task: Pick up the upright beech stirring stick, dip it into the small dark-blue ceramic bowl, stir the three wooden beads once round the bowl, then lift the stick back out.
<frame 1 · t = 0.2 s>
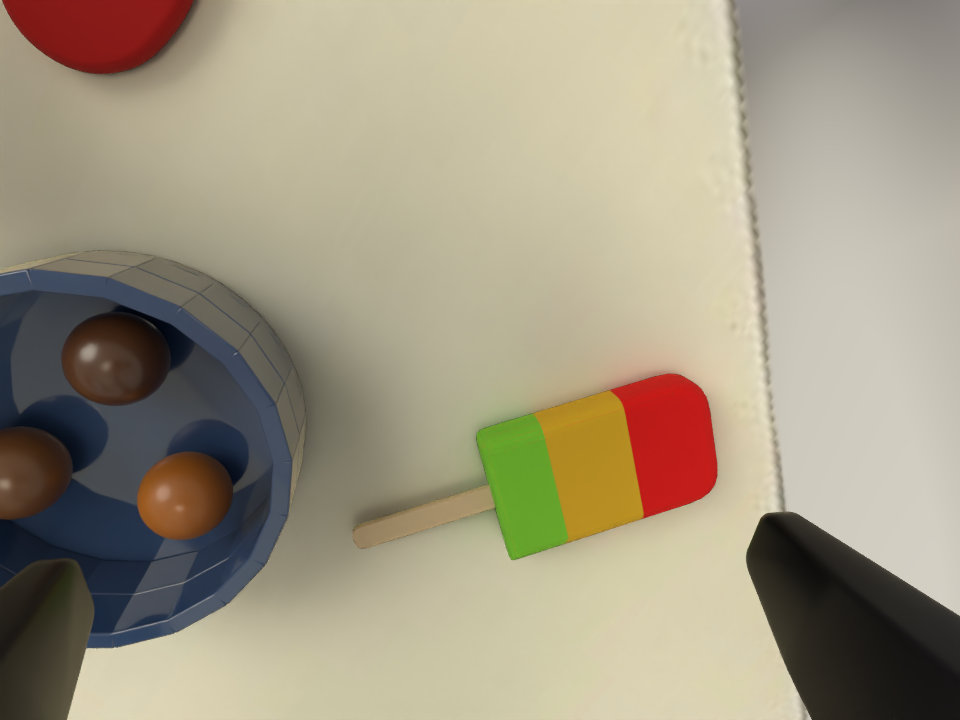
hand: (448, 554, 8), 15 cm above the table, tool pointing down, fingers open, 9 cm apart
bead c: (186, 495, 21), point 2 cm above the table, touching bowl
bowl: (132, 419, 22), on the table
popsicle: (527, 470, 26), on the table
bead a: (118, 358, 19), point 2 cm above the table, touching bowl
bead b: (17, 472, 20), point 2 cm above the table, touching bowl
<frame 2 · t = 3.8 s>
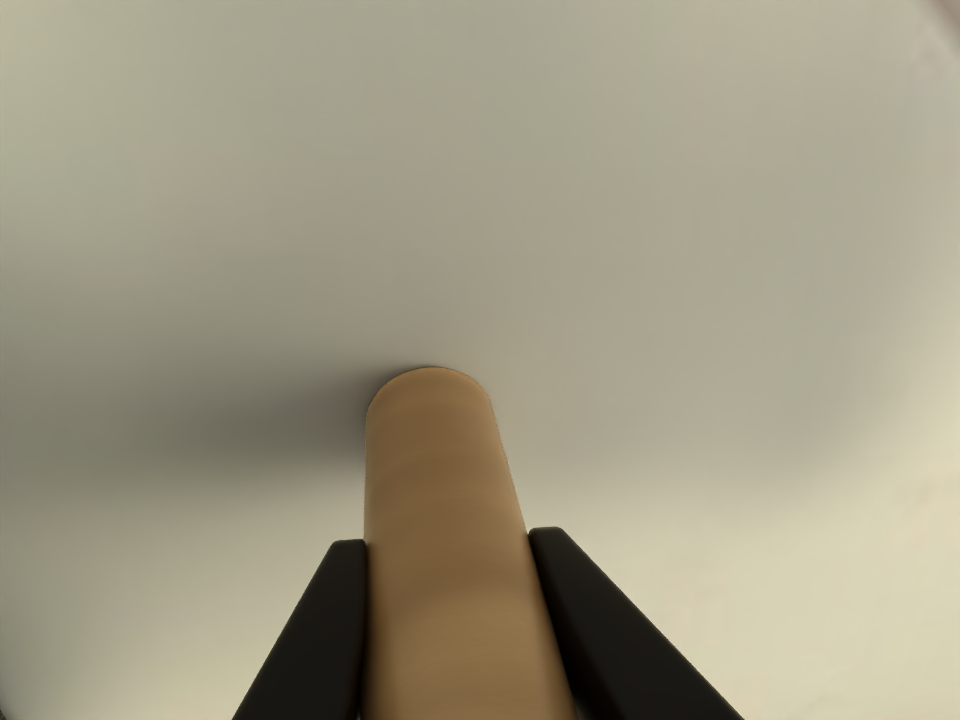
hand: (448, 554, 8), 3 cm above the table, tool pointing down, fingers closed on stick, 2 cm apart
stick: (430, 418, 11), on the table, touching gripper
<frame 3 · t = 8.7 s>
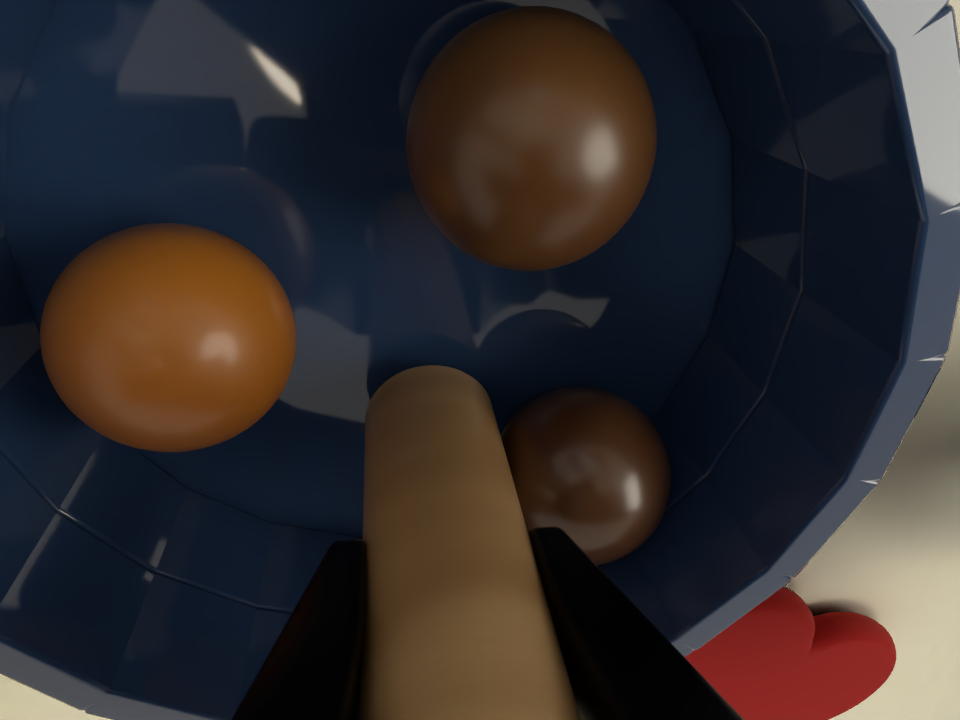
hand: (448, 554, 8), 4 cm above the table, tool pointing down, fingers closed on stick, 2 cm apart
bead c: (178, 338, 8), point 2 cm above the table, touching bowl
bowl: (401, 275, 10), on the table
bead a: (579, 473, 10), point 2 cm above the table, tilted 53°, touching bowl, stick
bead b: (529, 147, 7), point 2 cm above the table, touching bowl
stick: (429, 417, 11), point 1 cm above the table, touching bead a, gripper
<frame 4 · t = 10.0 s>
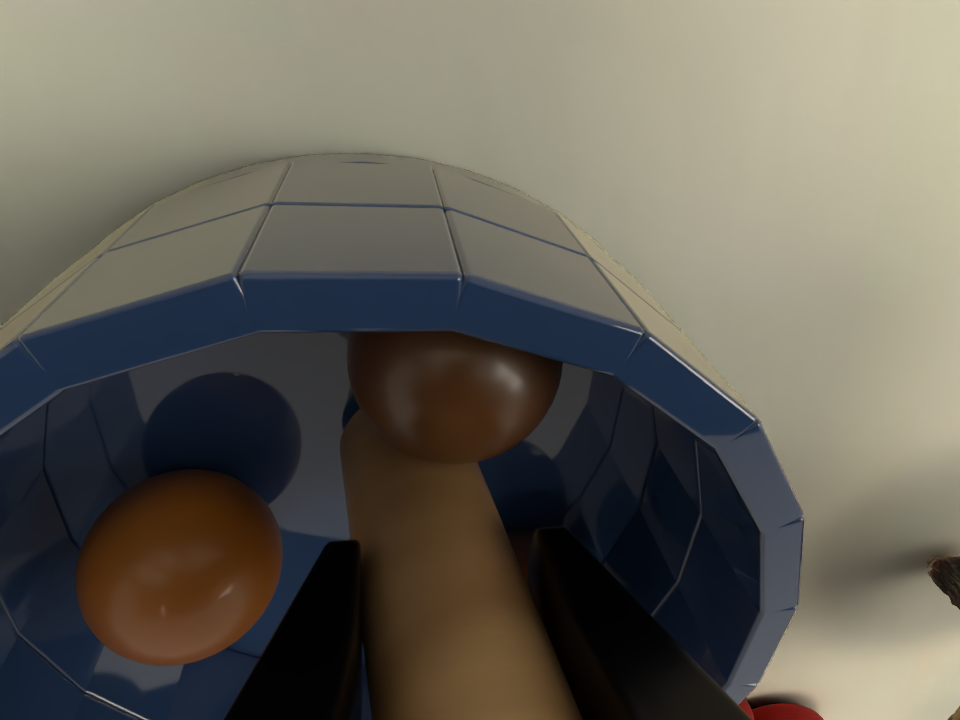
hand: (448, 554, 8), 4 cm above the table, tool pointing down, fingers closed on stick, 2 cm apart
bead c: (185, 562, 10), point 2 cm above the table, touching bowl
bowl: (374, 468, 12), on the table
bead a: (528, 609, 12), point 2 cm above the table, tilted 32°, touching bowl
bead b: (455, 356, 9), point 2 cm above the table, tilted 43°, touching bowl, stick
stick: (402, 440, 11), point 1 cm above the table, tilted 7°, touching bead b, gripper
acorn: (936, 551, 17), on the table
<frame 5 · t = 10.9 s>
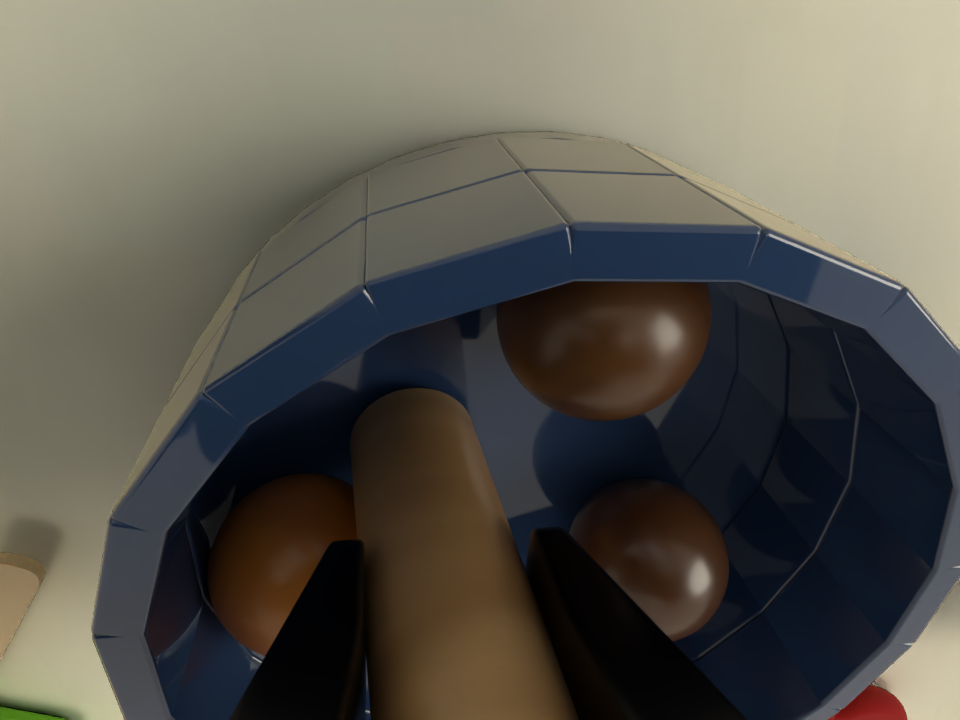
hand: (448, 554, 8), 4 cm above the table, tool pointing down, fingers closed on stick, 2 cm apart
bead c: (303, 562, 10), point 2 cm above the table, tilted 45°, touching bowl, stick
bowl: (512, 443, 13), on the table
bead a: (644, 557, 12), point 2 cm above the table, tilted 25°, touching bowl
bead b: (600, 316, 9), point 2 cm above the table, tilted 42°, touching bowl
stick: (412, 437, 11), point 1 cm above the table, touching bead c, gripper
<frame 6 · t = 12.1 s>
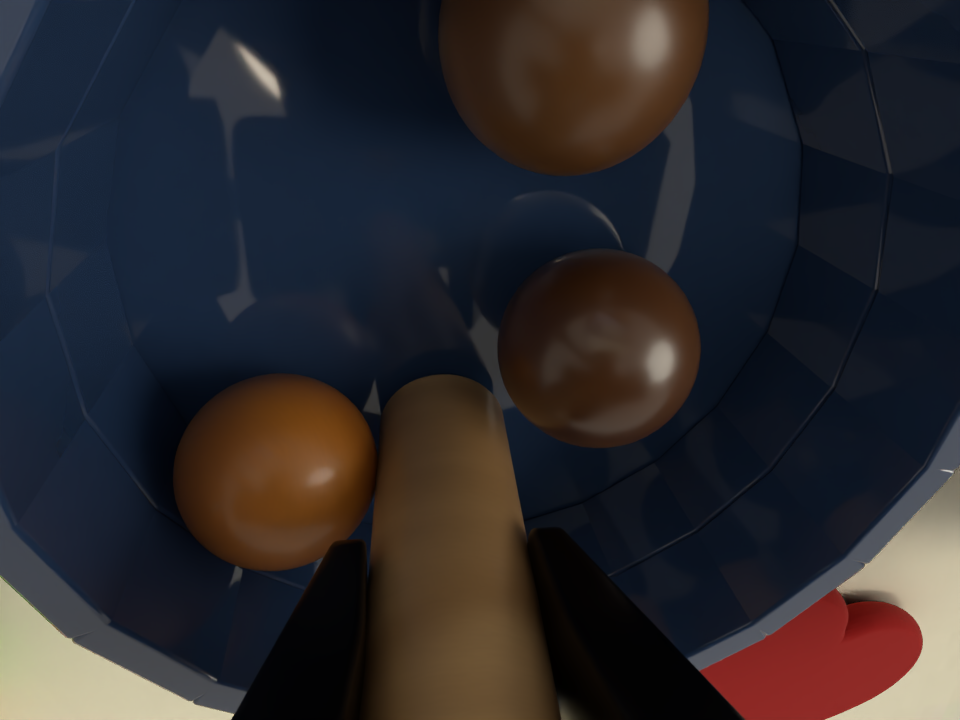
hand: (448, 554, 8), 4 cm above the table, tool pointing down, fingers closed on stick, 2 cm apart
bead c: (280, 469, 10), point 2 cm above the table, tilted 43°, touching bowl, stick
bowl: (476, 275, 11), on the table
bead a: (595, 348, 9), point 2 cm above the table, tilted 61°, touching bowl
bead b: (569, 39, 7), point 2 cm above the table, tilted 38°, touching bowl
stick: (442, 422, 11), point 1 cm above the table, touching bead c, gripper
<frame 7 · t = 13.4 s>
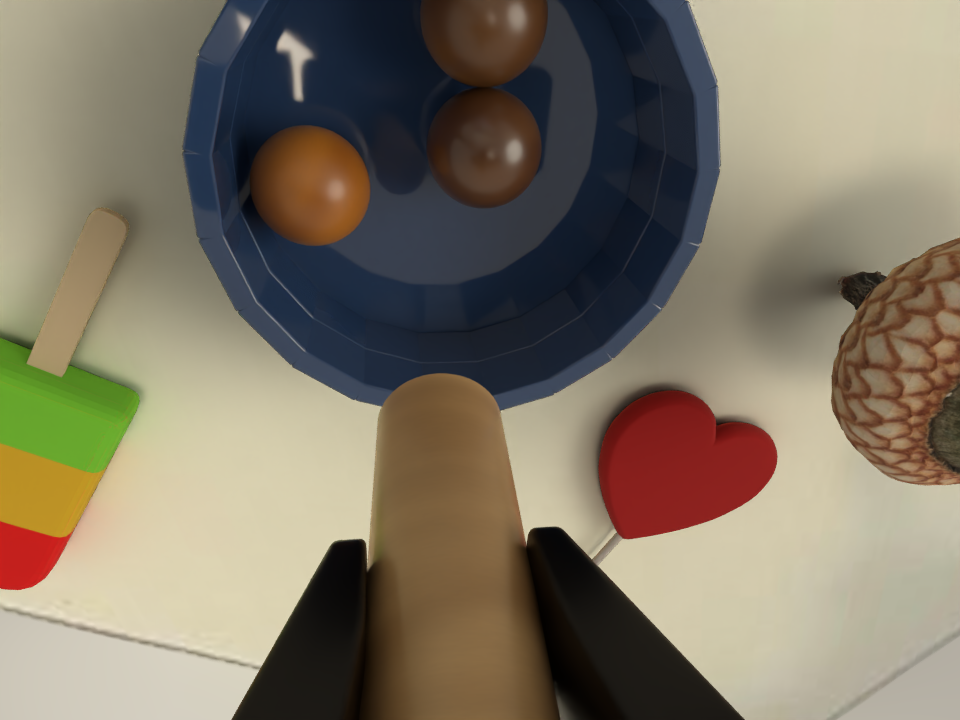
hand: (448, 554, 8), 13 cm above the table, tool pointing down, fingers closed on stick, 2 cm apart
bead c: (311, 187, 16), point 2 cm above the table, tilted 89°, touching bowl
bowl: (448, 157, 18), on the table
popsicle: (43, 391, 20), on the table
bead a: (484, 149, 16), point 2 cm above the table, tilted 106°, touching bowl
bead b: (483, 17, 14), point 2 cm above the table, tilted 34°, touching bowl
stick: (439, 421, 11), point 10 cm above the table, touching gripper
lollipop: (611, 527, 27), on the table
acorn: (846, 280, 23), on the table
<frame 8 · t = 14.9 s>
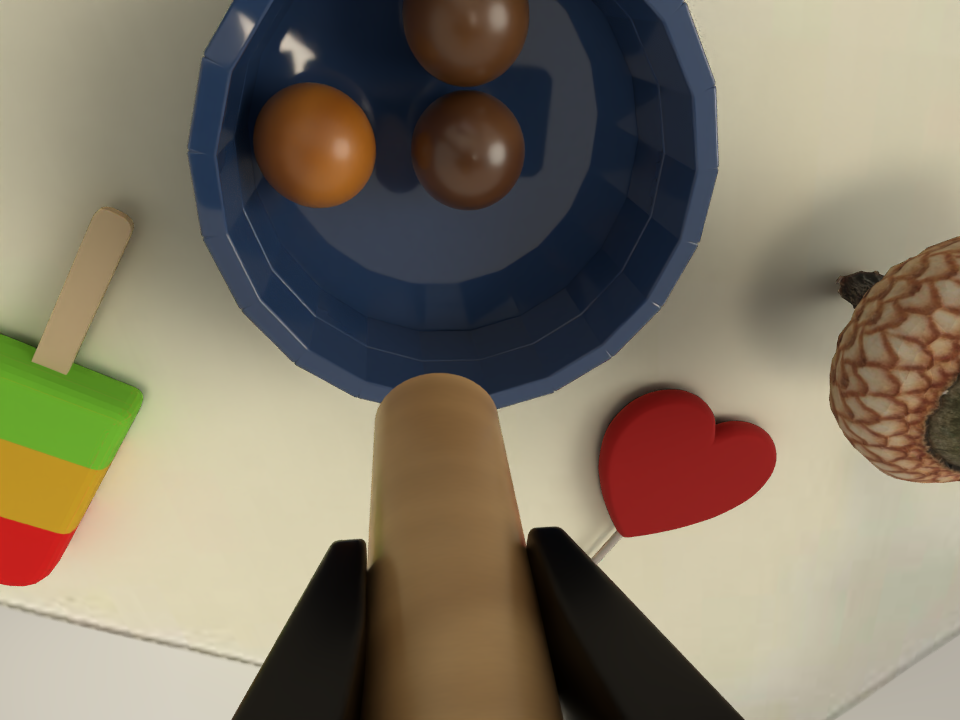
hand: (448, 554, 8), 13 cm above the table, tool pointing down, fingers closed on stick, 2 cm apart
bead c: (316, 147, 15), point 2 cm above the table, tilted 100°, touching bowl
bowl: (449, 157, 18), on the table
popsicle: (47, 389, 20), on the table
bead a: (467, 151, 16), point 2 cm above the table, tilted 107°, touching bowl
bead b: (466, 17, 14), point 2 cm above the table, tilted 26°, touching bowl
stick: (436, 421, 11), point 10 cm above the table, touching gripper
lollipop: (611, 526, 28), on the table
acorn: (845, 279, 23), on the table
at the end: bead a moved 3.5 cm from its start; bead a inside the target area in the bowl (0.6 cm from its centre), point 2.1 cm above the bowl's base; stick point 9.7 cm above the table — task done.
